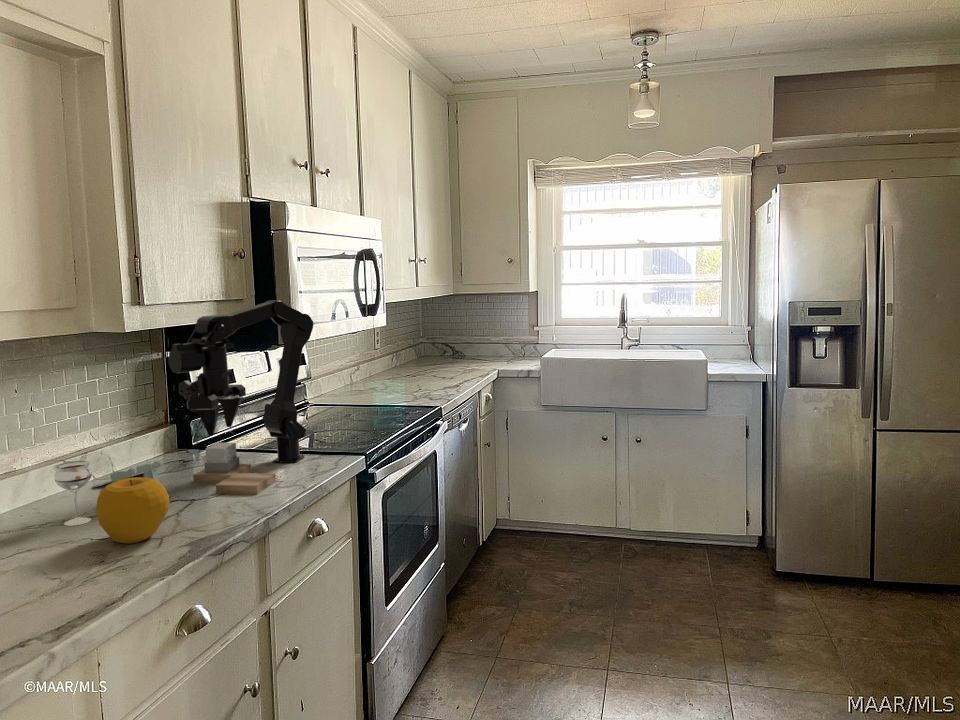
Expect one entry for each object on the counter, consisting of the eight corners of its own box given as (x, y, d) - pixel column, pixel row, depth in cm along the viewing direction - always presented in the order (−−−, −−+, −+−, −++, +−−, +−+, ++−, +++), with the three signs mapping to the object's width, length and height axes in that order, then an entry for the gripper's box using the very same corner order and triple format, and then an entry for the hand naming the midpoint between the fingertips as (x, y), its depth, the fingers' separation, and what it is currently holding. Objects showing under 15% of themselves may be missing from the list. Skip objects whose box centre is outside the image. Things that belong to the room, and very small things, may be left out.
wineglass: (68, 516, 158) (63, 461, 156) (101, 515, 158) (96, 459, 156) (52, 527, 151) (46, 470, 149) (86, 526, 151) (81, 468, 150)
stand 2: (236, 481, 181) (236, 472, 181) (275, 481, 179) (275, 473, 179) (216, 493, 171) (215, 485, 171) (257, 494, 169) (256, 485, 169)
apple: (144, 522, 152) (139, 468, 151) (186, 532, 146) (182, 475, 144) (84, 543, 141) (78, 485, 140) (126, 555, 135) (121, 493, 133)
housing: (217, 466, 188) (215, 442, 187) (239, 466, 187) (237, 442, 186) (205, 472, 182) (203, 448, 181) (228, 472, 181) (226, 448, 180)
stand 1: (214, 471, 190) (213, 463, 190) (251, 471, 189) (250, 464, 188) (193, 482, 180) (193, 474, 180) (232, 483, 179) (232, 475, 179)
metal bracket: (176, 455, 186) (123, 470, 173) (182, 477, 186) (130, 494, 173) (139, 465, 193) (86, 481, 180) (145, 487, 193) (92, 504, 180)
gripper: (203, 363, 191) (208, 423, 193) (162, 374, 173) (168, 440, 175) (244, 362, 190) (248, 422, 192) (208, 373, 171) (213, 440, 173)
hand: (220, 431), depth 183 cm, fingers open, 9 cm apart
